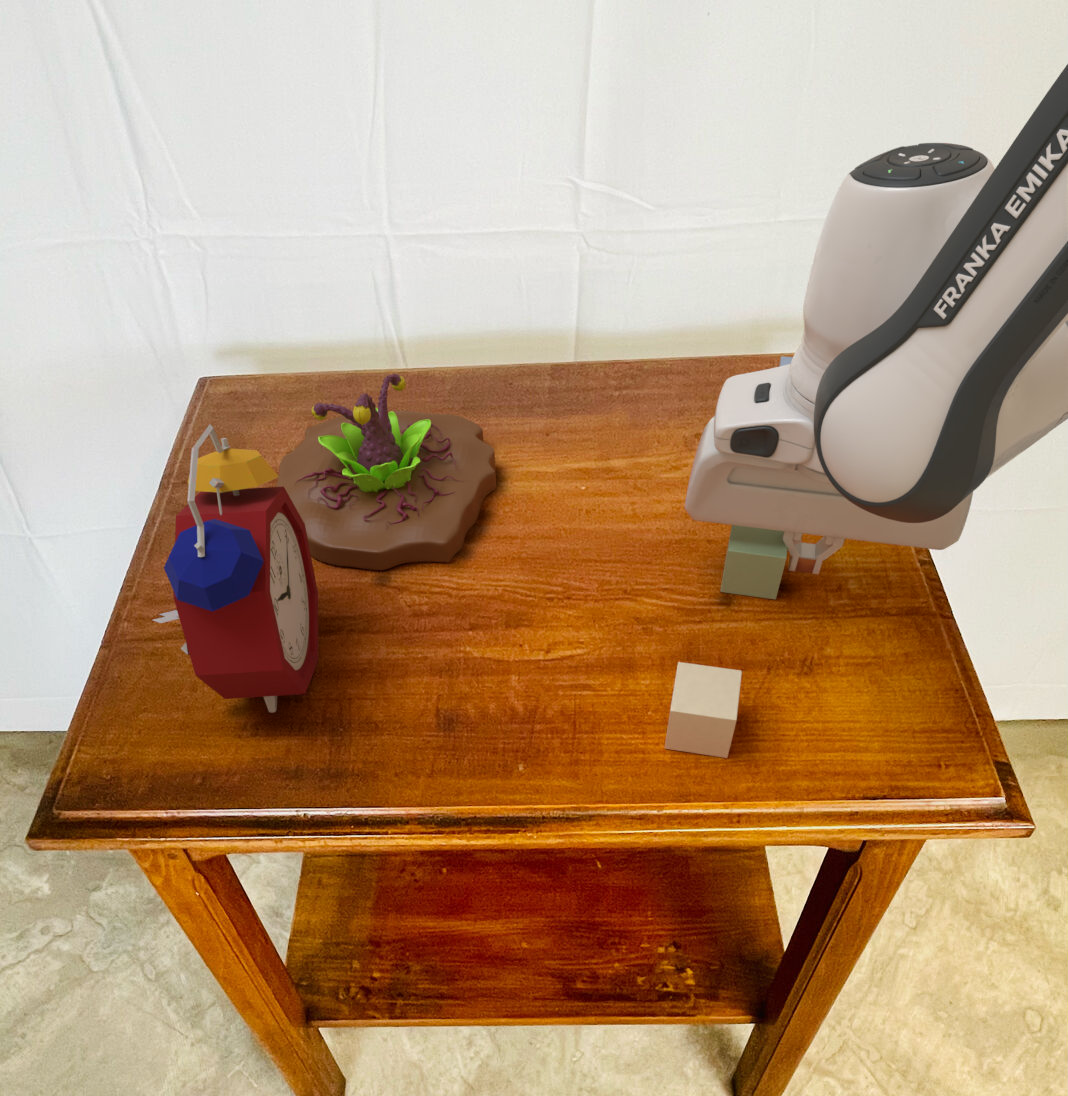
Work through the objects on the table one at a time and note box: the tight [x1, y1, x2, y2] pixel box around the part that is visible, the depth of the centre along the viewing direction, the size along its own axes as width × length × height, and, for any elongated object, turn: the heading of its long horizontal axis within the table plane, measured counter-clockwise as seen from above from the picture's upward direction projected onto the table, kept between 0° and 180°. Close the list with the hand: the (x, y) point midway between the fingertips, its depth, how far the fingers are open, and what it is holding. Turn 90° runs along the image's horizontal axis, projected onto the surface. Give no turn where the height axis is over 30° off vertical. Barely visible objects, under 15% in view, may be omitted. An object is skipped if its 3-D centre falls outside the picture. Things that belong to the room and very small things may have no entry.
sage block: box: [719, 525, 788, 600], centre depth 73 cm, size 4×4×4 cm
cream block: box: [664, 661, 743, 759], centre depth 64 cm, size 4×4×4 cm
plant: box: [275, 373, 497, 571], centre depth 78 cm, size 20×20×11 cm
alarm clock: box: [152, 423, 319, 714], centre depth 63 cm, size 15×9×20 cm, turn 3°
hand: (803, 567), depth 73 cm, fingers closed
